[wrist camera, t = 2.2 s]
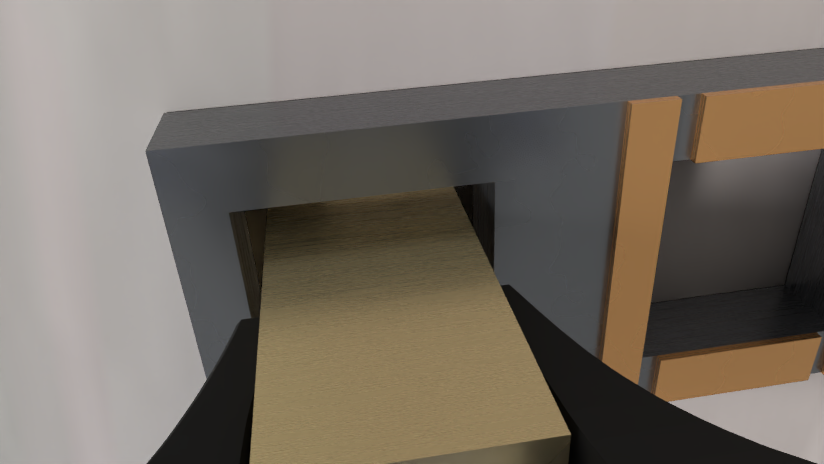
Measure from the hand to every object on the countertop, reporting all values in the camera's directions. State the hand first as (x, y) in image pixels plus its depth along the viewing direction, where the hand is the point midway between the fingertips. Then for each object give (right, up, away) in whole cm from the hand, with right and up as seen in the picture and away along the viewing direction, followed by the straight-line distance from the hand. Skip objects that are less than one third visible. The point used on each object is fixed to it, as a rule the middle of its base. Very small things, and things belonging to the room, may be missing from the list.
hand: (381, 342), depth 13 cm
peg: (0, +2, +3) cm, 3 cm away
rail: (+4, +2, +3) cm, 5 cm away
